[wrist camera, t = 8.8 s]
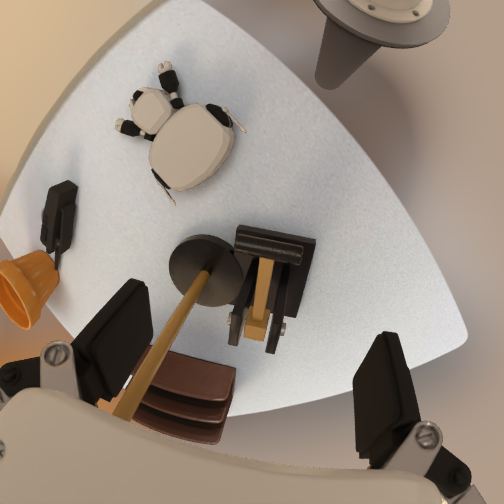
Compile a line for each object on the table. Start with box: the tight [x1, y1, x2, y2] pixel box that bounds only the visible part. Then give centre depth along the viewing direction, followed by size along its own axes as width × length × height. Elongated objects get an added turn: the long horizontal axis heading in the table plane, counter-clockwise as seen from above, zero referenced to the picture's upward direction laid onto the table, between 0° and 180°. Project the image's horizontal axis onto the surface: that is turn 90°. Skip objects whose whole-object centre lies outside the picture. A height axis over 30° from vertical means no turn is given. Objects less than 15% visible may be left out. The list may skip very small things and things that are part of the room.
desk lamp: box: [112, 235, 243, 422], centre depth 24 cm, size 13×13×38 cm
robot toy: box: [115, 61, 246, 206], centre depth 30 cm, size 12×4×15 cm
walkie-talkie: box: [40, 180, 77, 270], centre depth 40 cm, size 6×6×20 cm
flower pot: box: [0, 250, 59, 330], centre depth 43 cm, size 14×14×13 cm
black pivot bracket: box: [227, 225, 316, 354], centre depth 33 cm, size 12×10×13 cm
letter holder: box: [125, 345, 236, 445], centre depth 46 cm, size 10×20×14 cm, turn 84°
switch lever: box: [234, 234, 303, 342], centre depth 25 cm, size 13×5×2 cm, turn 172°
